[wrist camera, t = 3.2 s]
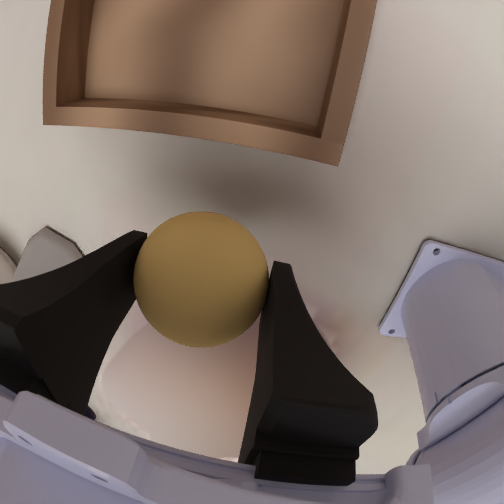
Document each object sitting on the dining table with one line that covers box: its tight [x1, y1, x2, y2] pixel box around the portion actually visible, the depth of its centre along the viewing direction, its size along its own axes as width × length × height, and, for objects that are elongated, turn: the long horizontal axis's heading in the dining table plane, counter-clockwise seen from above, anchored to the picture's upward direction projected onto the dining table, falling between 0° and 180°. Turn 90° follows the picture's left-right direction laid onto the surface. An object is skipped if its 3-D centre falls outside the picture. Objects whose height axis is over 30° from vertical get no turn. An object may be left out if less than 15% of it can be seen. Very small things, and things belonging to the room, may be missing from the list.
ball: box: [134, 212, 269, 347], centre depth 12 cm, size 5×5×5 cm
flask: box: [11, 227, 83, 282], centre depth 19 cm, size 7×7×10 cm
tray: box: [43, 0, 377, 166], centre depth 11 cm, size 15×12×3 cm
